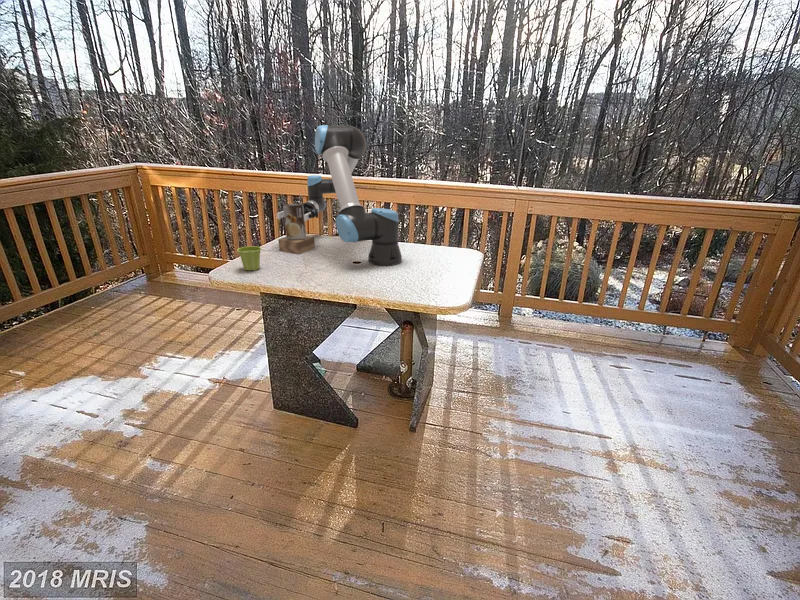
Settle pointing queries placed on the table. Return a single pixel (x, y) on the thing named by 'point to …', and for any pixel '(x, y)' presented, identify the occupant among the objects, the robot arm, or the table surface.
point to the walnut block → (296, 245)
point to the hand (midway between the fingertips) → (291, 217)
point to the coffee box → (294, 221)
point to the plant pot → (250, 257)
